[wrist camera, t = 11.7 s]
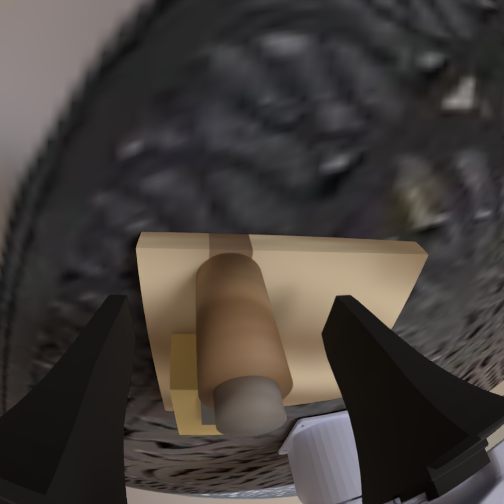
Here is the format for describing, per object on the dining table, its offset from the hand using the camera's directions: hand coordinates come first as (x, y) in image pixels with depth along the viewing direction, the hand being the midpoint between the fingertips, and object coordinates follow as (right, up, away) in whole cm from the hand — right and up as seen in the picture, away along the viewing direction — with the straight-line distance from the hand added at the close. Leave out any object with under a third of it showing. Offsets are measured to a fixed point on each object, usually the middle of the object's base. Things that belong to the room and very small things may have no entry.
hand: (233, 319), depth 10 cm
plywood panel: (+2, -2, +6) cm, 7 cm away
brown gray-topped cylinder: (0, +1, +2) cm, 2 cm away
